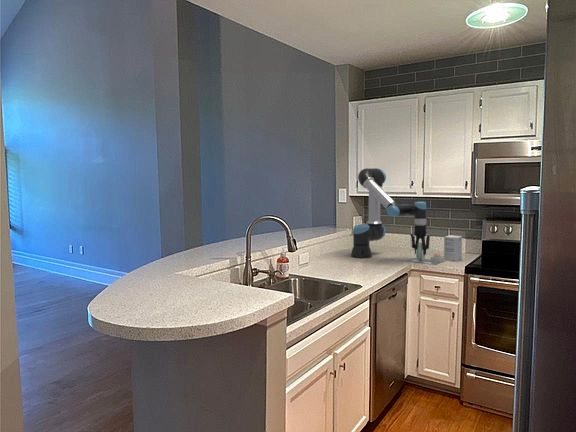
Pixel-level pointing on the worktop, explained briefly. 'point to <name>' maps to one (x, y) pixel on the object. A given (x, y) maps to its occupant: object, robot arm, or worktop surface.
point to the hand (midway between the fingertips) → (420, 259)
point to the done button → (436, 254)
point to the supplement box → (453, 248)
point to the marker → (420, 251)
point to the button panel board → (428, 260)
